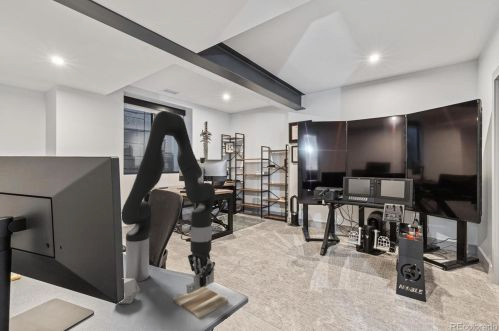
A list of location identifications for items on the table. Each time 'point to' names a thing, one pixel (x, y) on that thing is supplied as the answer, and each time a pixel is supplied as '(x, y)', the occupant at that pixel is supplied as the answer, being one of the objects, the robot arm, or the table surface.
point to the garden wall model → (196, 283)
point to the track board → (200, 301)
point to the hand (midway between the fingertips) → (200, 284)
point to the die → (130, 290)
